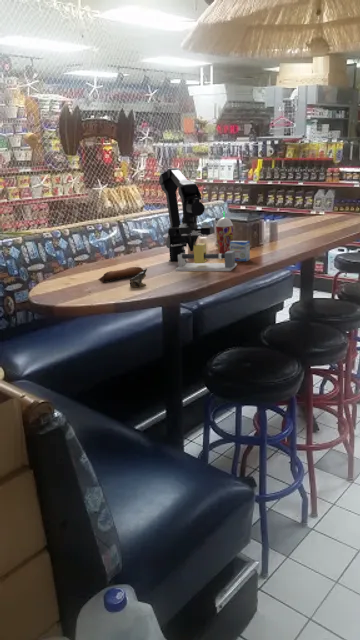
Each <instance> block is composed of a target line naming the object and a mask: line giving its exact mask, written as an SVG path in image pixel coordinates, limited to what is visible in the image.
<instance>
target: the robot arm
mask: <svg viewBox="0 0 360 640" xmlns="http://www.w3.org/2000/svg"><path fill="white" fill-rule="evenodd" d="M158 182H159V185H160V188H161V191H163V193H164V195H165V197H166V205H167V210H168V211H167V212H168V217H169V228H168V229H167V238H166V242H165V245H166V248H167V249H169V259H168V262H178V255H181V253H185V254H186V249H185V248H186V247H187V246H188V248H189V250H190V252H194V245H196V244H197V240H198V239H199V236H201V235H202V236H210V235H212V234H214V232H215V230H214V227H213V226H212V225H211V226H209V225H208V226H202V227H201V228H200V227H199V225H198V217H199V216H202V215H203V214H204V213H205V205H204V203H203V202H201V201H202V194H201V191H200V188H199V186H198V185H197V183H196V182H194V181H192V180H188V179H187V178H186V176H185V175H184V174H183V172H182V171H181V169H180V168H179V167H170V168H167V170H166V171H164V172H162V173H161V174H160V175H159V179H158ZM177 192H178V196H179V197H180V199H181V203H182V208H181V209H182V217H181V219H180V211H179V207H178V198H177Z"/></svg>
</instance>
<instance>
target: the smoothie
mask: <svg viewBox="0 0 360 640" xmlns="http://www.w3.org/2000/svg"><path fill="white" fill-rule="evenodd" d="M222 214H223V217H220V218H218V220H217V222H216V224H215V231H216V232H215V233H216V239H217V249H218V250H217V251H218V254H225V253H226V252H227V251H230V242H231V241H234V224H233V222H232V220H231V219H230V218H229V217H227V216H226V215H225V214H226V212H225V211H223V213H222ZM225 216H226V217H225Z"/></svg>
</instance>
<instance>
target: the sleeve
mask: <svg viewBox="0 0 360 640" xmlns="http://www.w3.org/2000/svg"><path fill="white" fill-rule="evenodd" d="M193 254H194V259H193V260H194V261H193V263H207V261H208V259H204V254H208V253H207V243H195V245H194V249H193Z"/></svg>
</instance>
